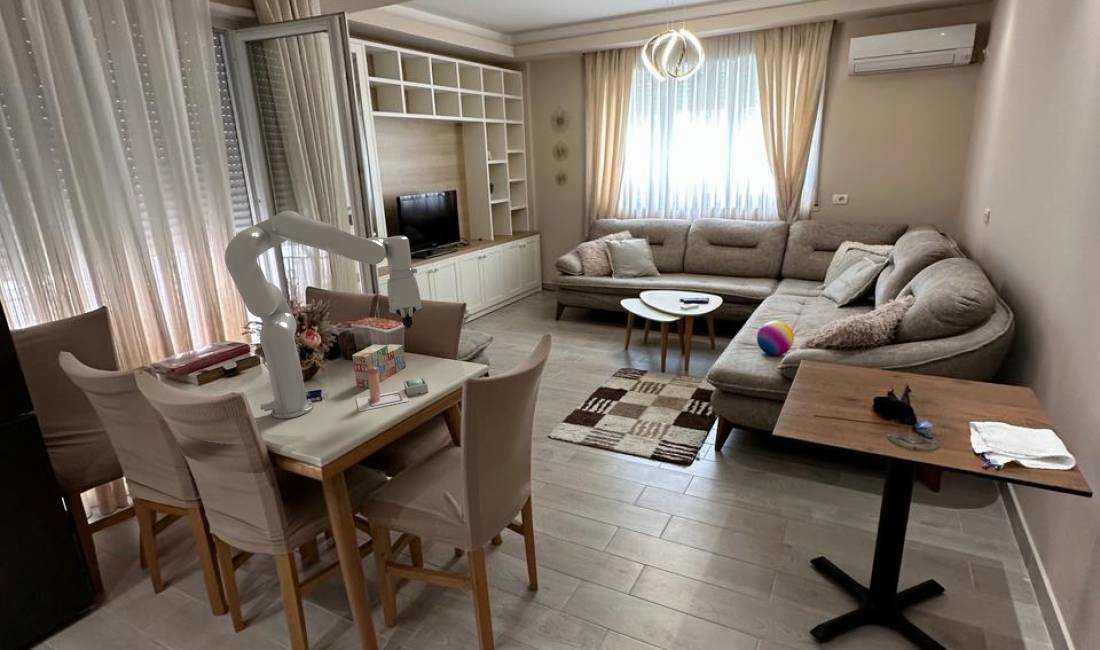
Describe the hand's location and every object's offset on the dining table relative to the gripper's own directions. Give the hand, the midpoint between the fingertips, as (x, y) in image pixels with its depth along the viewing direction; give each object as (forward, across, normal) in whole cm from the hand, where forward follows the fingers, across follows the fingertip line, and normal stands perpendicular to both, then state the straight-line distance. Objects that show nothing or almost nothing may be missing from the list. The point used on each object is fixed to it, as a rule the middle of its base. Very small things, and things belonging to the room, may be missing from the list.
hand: (408, 327), depth 194 cm
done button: (+23, 0, 0) cm, 23 cm away
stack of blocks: (+24, +9, -21) cm, 33 cm away
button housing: (+23, 0, 0) cm, 23 cm away
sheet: (+23, +12, +3) cm, 26 cm away
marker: (+23, +14, +2) cm, 27 cm away
